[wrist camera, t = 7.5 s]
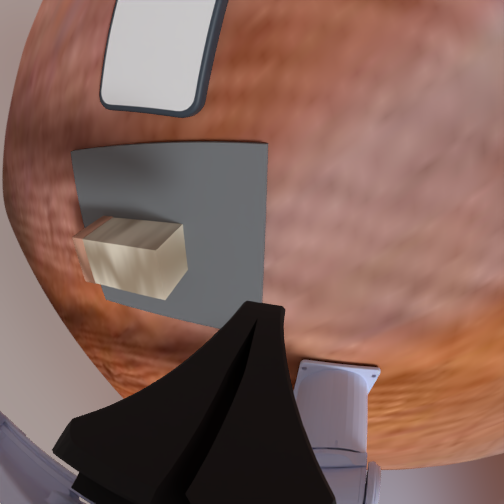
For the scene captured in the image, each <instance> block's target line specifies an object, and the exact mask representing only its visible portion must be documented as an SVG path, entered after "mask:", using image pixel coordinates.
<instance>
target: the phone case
mask: <svg viewBox="0 0 504 504" xmlns="http://www.w3.org/2000/svg"><path fill="white" fill-rule="evenodd" d="M227 3H228V0H116V3H115V7H114V11H113V15H112V20H111V24H110V29H109V34H108V39H107V44H106V50H105V55H104V62H103V69H102V76H101V85H100V101H101V103H102V105H103V106H104V107H105V108H106V109H108V110H118V111H130V112H140V113H149V114H157V115H164V116H172V117H178V118H185V117H190V116H193V115H195V114H197V113H198V112H199V111H201V109H202V108H203V106H204V104H205V100H206V95H207V90H208V85H209V80H210V75H211V70H212V66H213V61H214V57H215V52H216V48H217V43H218V39H219V35H220V31H221V27H222V23H223V19H224V15H225V11H226V7H227Z"/></svg>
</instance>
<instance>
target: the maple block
mask: <svg viewBox="0 0 504 504" xmlns="http://www.w3.org/2000/svg"><path fill="white" fill-rule="evenodd" d="M72 239H73V243H74V246H75V250H76V253H77V256H78V259H79V263H80V266H81V269H82V272H83V275H84V278H85V281H87V282H91V283H94V284H96V283H98V284H101V285H105V286H109V287H113V288H117V289H120V290H124V291H128V292H132V293H136V294H141V295H145V296H149V297H153V298H158V299H162V300H166V299H167V297H168V296H169V295H170V293H171V292H172V291H173V289H174V288H175V286H176V285H177V284H178V282H179V281H180V280H181V278H182V277H183V276H184V274H185V273H186V272H187V270H188V266H187V258H186V249H185V240H184V231H183V224H177V223H167V222H157V221H147V220H136V219H125V218H114V217H112V216H102V217H101V218H99V219H98V220H96V221H95V222H93V223H92V224H90V225H89V226H87V227H86V228H84V229H83V230H82V231H80V232H79V233H77V234H76V235H75V236H73V237H72Z"/></svg>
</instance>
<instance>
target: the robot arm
mask: <svg viewBox="0 0 504 504" xmlns="http://www.w3.org/2000/svg"><path fill="white" fill-rule="evenodd" d="M284 316H285V309H284V307H283V306H278V305H271V304H265V303H259V302H253V301H245V302H244V303H243V304H242V305H241V307H240V308H239V309H238V310H237V311H236V313H235V314H234V315H233V316H232V317H231V318H230V319H229V320H228V322H227V323H226V324H225V325H224V326H223V327H222V328H221V329H220V330H219V331H218V332H217V333H216V334H215V335H214V336H213V337H212V338H211V339H210V340H209V341H208V342H207V343H205V344H204V345H203V346H202V347H201V348H200V349H199V350H197V351H196V352H195V353H194V354H193V355H192V356H191V357H189V358H188V359H187V360H186V361H184V362H183V363H182V364H180V365H179V366H178V367H176V368H175V369H174V370H172V371H171V372H169V373H168V374H167V375H165V376H164V377H162V378H160V379H159V380H157V381H156V382H154V383H152V384H151V385H149V386H148V387H146V388H144V389H142V390H141V391H139V392H137V393H135V394H133V395H131V396H129V397H127V398H125V399H123V400H120V401H118V402H116V403H114V404H112V405H110V406H107V407H105V408H102V409H99V410H97V411H94V412H91V413H88V414H85V415H82V416H79V417H76V418H74V419H72V420H71V422H70V423H69V424H68V425H67V427H66V428H65V430H64V431H63V433H62V435H61V436H60V438H59V439H58V441H57V443H56V444H55V446H54V448H53V449H52V450H53V453H54V454H55V455H56V456H58V457H59V458H60V459H62V460H63V461H65V462H66V463H67V464H69V465H70V466H71V467H73V468H74V469H76V470H77V471H79V474H78V476H76V475H75V474H73V473H72V472H70V471H69V470H68V469H66V468H65V467H63V466H62V465H61V464H59V463H58V462H57V461H55V460H54V459H52V458H51V457H50V456H49V455H48V454H46V453H45V452H44V451H43V450H41V449H40V448H39V447H38V446H37V445H35V444H34V443H33V442H32V441H31V440H30V439H28V438H27V437H26V435H25V434H24V433H23V432H22V431H21V430H20V429H19V428H18V427H17V426H16V425H14V423H13V422H12V421H11V420H9V419H8V418H7V417H6V416H5V415H4V414H3V413H2V412H1V411H0V503H1V504H86V503H84V502H81V501H80V500H79V496H80V497H81V498H83V499H84V500H86V501H87V502H89V503H90V504H378V503H379V495H380V482H381V468H380V466H379V465H377V464H376V462H375V461H371V462H369V463H368V472H367V476H366V467H367V453H366V446H367V395H368V393H369V392H370V390H371V388H372V386H373V385H374V383H375V381H376V380H377V378H378V376H379V374H380V368H378V367H368V366H357V365H346V364H337V363H329V362H320V361H313V360H302V361H301V362H300V366H299V370H298V375H297V379H296V383H295V387H294V391H293V388H292V384H291V380H290V375H289V370H288V364H287V358H286V351H285V343H284ZM365 481H366V483H365Z"/></svg>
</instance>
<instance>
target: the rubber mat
mask: <svg viewBox="0 0 504 504" xmlns="http://www.w3.org/2000/svg"><path fill="white" fill-rule="evenodd" d="M71 158H72V165H73V171H74V178H75V184H76V189H77V195H78V200H79V205H80V209H81V214H82V218H83V223H84V227H85V228H86V227H87V226H89V225H90V224H92V223H93V222H95V221H96V220H98V219H99V218H101V217H102V216H112V217H114V218H125V219H136V220H147V221H157V222H167V223H177V224H183V231H184V240H185V249H186V258H187V266H188V270H187V272H186V273H185V274H184V276H183V277H182V278H181V280H180V281H179V282H178V284H177V285H176V286H175V288H174V289H173V291H172V292H171V293H170V295H169V296H168V297H167V299H166V300H162V299H158V298H153V297H149V296H145V295H141V294H136V293H132V292H128V291H124V290H120V289H117V288H113V287H109V286H105V285H101V287H102V290H103V293H104V296H105V298H106V300H109V301H112V302H116V303H119V304H122V305H126V306H129V307H133V308H137V309H140V310H144V311H148V312H151V313H155V314H159V315H163V316H167V317H171V318H175V319H179V320H183V321H187V322H192V323H196V324H201V325H205V326H210V327H214V328H219V329H221V328H222V327H223V326H224V325H225V324H226V323H227V322H228V320H229V319H230V318H231V317H232V316H233V315H234V314H235V313H236V311H237V310H238V309H239V308H240V307H241V305H242V304H243V303H244V302H245V301H253V302H259V303H262V296H263V273H264V249H265V223H266V195H267V165H268V143H252V142H219V141H190V142H158V143H140V144H126V145H115V146H105V147H96V148H88V149H80V150H74V151H71Z"/></svg>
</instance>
